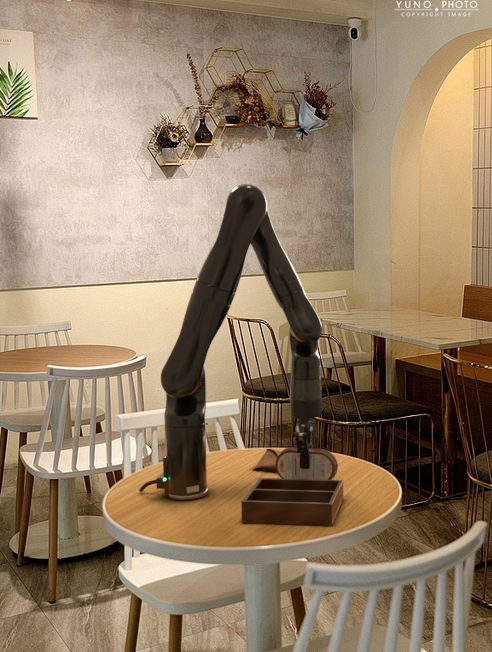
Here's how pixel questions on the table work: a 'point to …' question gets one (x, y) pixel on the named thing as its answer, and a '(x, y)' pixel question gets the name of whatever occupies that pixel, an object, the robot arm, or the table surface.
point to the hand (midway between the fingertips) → (306, 466)
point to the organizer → (293, 501)
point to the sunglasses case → (268, 461)
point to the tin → (320, 467)
